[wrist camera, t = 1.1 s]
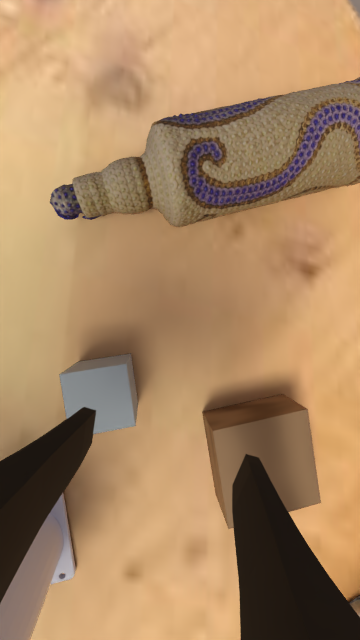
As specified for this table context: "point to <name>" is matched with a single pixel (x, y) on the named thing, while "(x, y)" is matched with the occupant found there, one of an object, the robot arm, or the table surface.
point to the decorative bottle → (230, 159)
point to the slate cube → (102, 391)
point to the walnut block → (263, 449)
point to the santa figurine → (356, 605)
